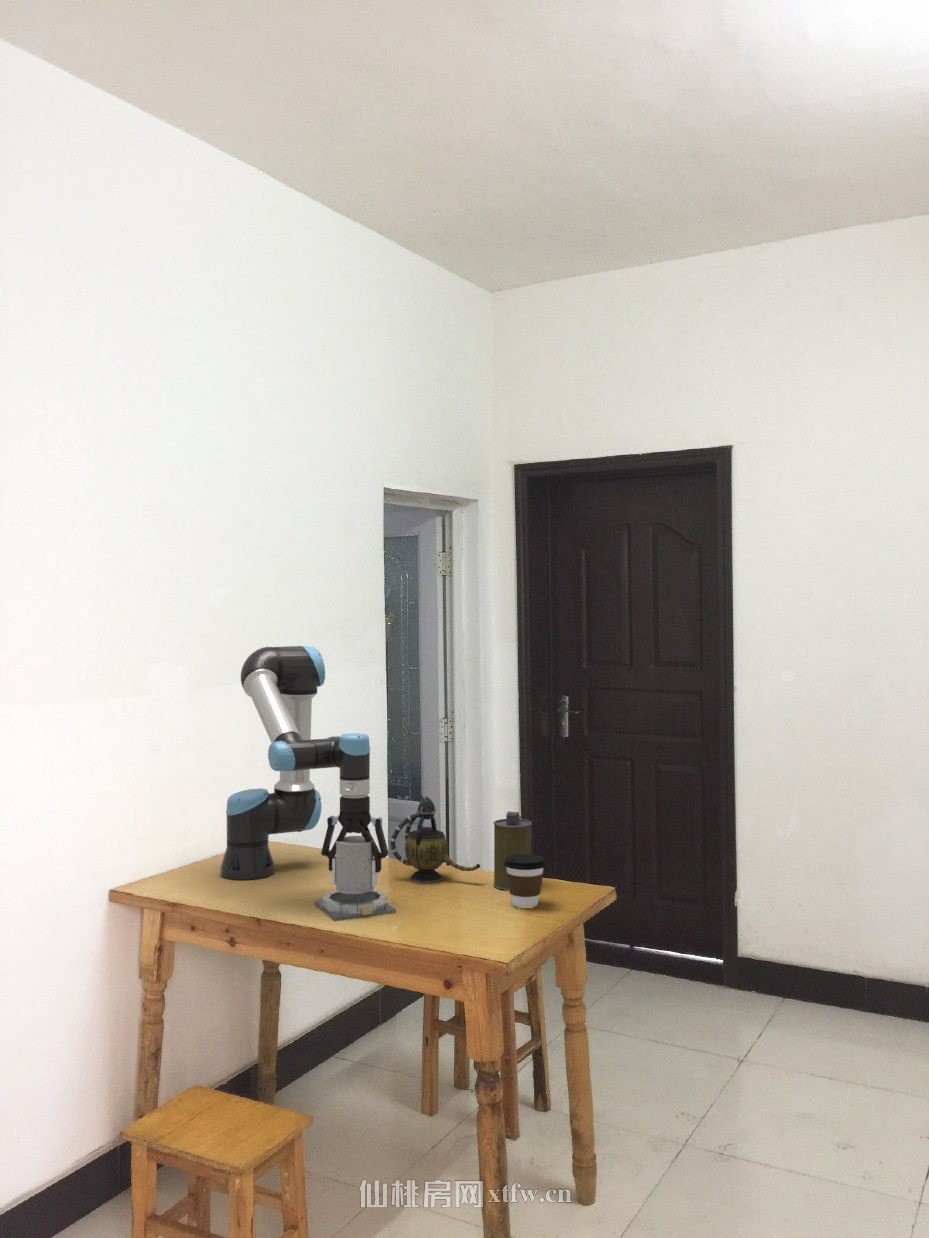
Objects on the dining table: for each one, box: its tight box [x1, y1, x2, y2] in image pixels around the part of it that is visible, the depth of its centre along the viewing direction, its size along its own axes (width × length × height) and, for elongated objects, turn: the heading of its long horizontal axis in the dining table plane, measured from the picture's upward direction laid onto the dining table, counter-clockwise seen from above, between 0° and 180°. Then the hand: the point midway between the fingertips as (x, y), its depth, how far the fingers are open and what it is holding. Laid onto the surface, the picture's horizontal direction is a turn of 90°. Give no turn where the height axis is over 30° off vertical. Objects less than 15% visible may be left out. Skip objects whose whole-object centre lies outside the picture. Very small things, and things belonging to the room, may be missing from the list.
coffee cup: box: [504, 853, 547, 908], centre depth 267 cm, size 11×11×12 cm
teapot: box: [390, 795, 481, 884], centre depth 292 cm, size 12×25×23 cm, turn 66°
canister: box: [493, 811, 533, 891], centre depth 286 cm, size 11×10×20 cm
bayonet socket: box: [314, 888, 397, 922], centre depth 265 cm, size 18×16×3 cm
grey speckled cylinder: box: [335, 835, 375, 894], centre depth 265 cm, size 10×10×12 cm
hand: (354, 884), depth 265 cm, fingers closed on grey speckled cylinder, 9 cm apart
